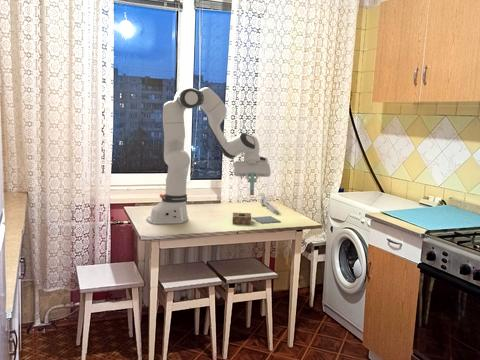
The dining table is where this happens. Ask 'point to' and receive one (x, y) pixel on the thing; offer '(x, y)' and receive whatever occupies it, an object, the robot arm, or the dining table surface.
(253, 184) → the scraper tool
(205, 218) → the dining table surface
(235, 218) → the slot holder
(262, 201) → the wrench
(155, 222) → the robot arm
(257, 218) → the rubber mat
